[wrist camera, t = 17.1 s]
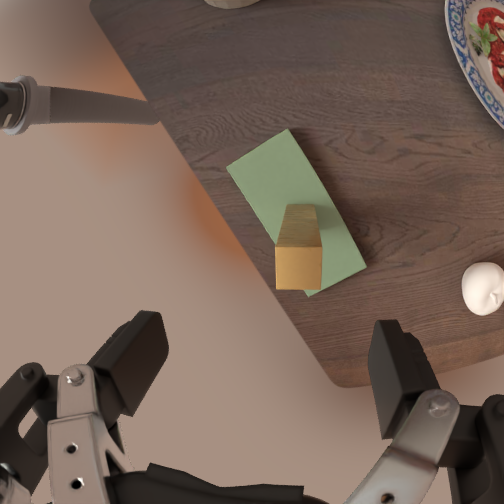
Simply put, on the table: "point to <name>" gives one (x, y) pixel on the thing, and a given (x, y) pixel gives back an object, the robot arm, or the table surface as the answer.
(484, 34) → the ceramic plate
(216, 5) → the tin
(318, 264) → the stick
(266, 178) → the green rectangular block
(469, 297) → the apple
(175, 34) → the table surface
